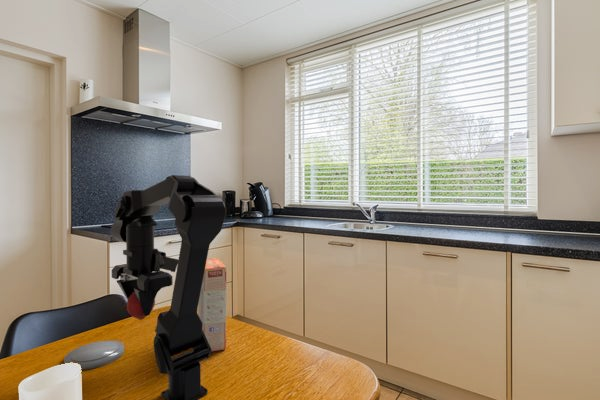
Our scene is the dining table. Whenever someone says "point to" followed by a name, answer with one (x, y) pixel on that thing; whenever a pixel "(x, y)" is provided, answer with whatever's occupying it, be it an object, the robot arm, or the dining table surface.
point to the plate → (95, 354)
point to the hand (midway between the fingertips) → (140, 312)
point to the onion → (135, 307)
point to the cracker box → (214, 304)
